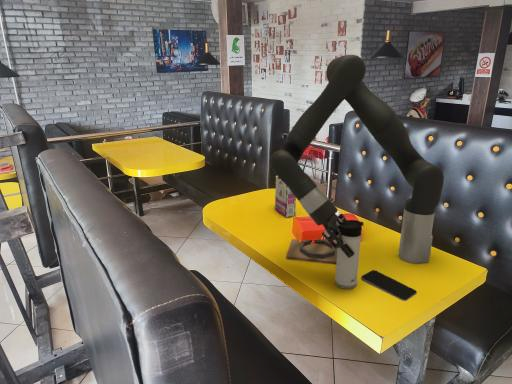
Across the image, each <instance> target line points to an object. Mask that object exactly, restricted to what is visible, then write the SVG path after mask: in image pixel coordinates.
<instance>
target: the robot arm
mask: <svg viewBox="0 0 512 384" xmlns="http://www.w3.org/2000/svg"><path fill="white" fill-rule="evenodd" d="M366 70H367V69H366V65H365V62H364V60H363V58H361V56H359V55H357V54H344V55H342V56H338V57H336V58H334V59H332V60H331V61H330V62H329V63H328V64H327V67H326V70H325V75H326V79H327V81H328V83H327V84H326V86H325V88H324V89H323V90H322V92H321V94H319V95H318V97H317V98H316V99H315V100H314V101H313V103H311V105H309V106H308V108H307V109H306V110H304V112H303V113H302V114H301V115H300V117H299V118H298V119H297V121H296V122H295V124H294V125H293V127H292V128H291V129H290V131H289V132H288V134H287V137H286V140H285V142H284V143H283V145H282V146H281V147H280V148H279V150H276V151H275V152H273V153H272V154H271V156H270V158H269V166H270V169H271V170H272V172H274V174H275V175H276V176H278V177H279V178H280V179H281V180H282V181H283V182H284V183H285V184H286V185H287V186H288V188H289V189H290V191H291V192H292V193H293V195H294V196H295V197H296V200H298V202H299V204H300V205H301V207H302V208H303V210H305V213H307V214H308V216H309V217H310V218H311V219H312V221H313V222H314V223H315V224H316V225H317V226H321V225H322V226H323V228H324V230H323V232H321V235H322V236H323V237H324V238H325V240H327V241H328V242H329V243H330V244H331V245H332V246H333V247H334V248H335V249H337V248H341V250H342V251H343V252H344V253H345V254H346V256H347V257H348V258H350V257H352V256H353V255H354V254H355V253H354V251H353V250H352V249H351V248H350V247H349V245H348V244H347V243H346V242H345V240H344V238H343V234H342V232H341V230H340V223H341V222H343V221H346V220H348V219H346V216H345V215H344V214H343V213H340V214H338V215H337V214H336V213H338V211H339V210H338V207H337V206H336V205H335V204H334V203H333V202H332V201H331V199H330V198H329V197H328V196H327V194H326V193H325V192H324V191H323V190H322V189H321V188H320V187H319V186H318V185H317V184H316V183H315V181H314V179H312V178H311V177H310V176H309V175H308V173H306V172H305V171H304V170H303V168H302V167H301V166H300V164H299V162H300V160H301V159H302V157H303V155H304V153H305V151H306V150H307V149H308V148H309V146H310V145H311V143H312V142H313V141H314V139H315V138H316V137H317V136H318V134H319V132H320V131H321V130H322V128H323V127H324V125H325V124H326V123H327V122H328V119H329V118H330V117H331V116H332V115H333V113H334V112H336V109H338V107H339V106H341V104H342V103H343V102H344V101H345V102H347V104H348V105H350V107H351V108H352V110H353V111H354V112H355V113H354V114H356V116H357V117H358V119H359V120H360V121H361V122H362V125H364V127H365V128H366V129H367V131H368V132H369V134H370V135H371V136H372V138H373V139H374V140H375V141H376V142H377V143H378V145H380V148H382V149H383V151H384V152H385V153H387V155H388V156H389V157H390V158H391V159H392V160H393V161H394V163H395V165H396V166H397V167H398V169H399V171H400V173H401V175H402V176H403V178H404V179H405V181H406V182H407V183H408V185H410V186H411V187H412V194H411V198H410V197H409V198H407V199H406V200H405V201H404V202H405V203H404V208H403V209H404V210H403V216H402V224H401V232H400V240H399V247H398V255H397V256H398V257H399V258H400V259H401V260H403V262H404V261H405V262H408V263H411V264H425V263H429V262H430V256H431V251H432V245H433V239H434V236H433V234H432V233H433V232H432V231H433V225H434V219H435V214H436V209H437V207H438V206H439V203H440V200H441V196H442V193H443V192H442V191H443V187H444V181H445V176H444V175H445V174H444V172H443V170H442V168H441V167H439V166H438V165H436V164H434V163H431V162H430V161H427V160H426V159H425V158H424V157H423V156H422V155H421V154H420V153H419V152H418V150H416V149H415V147H414V146H413V144H412V141H411V139H410V135H409V133H408V130H407V128H406V126H405V124H404V122H403V121H402V120H401V118H400V117H399V116H398V114H397V113H396V111H395V110H394V109H393V108H392V107H391V106H390V105H389V104H387V103H386V102H385V101H383V99H381V98H380V97H379V96H377V95H376V94H375V93H374V92H372V91H371V90H370V88H368V86H367V85H366V83H365V82H364V81H363V80H364V78H365V75H366ZM340 239H341V240H340ZM335 243H336V244H335Z"/></svg>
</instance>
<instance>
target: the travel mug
mask: <svg viewBox="0 0 512 384" xmlns="http://www.w3.org/2000/svg"><path fill="white" fill-rule="evenodd" d="M364 226H365V225H364V222H363V221H361V220H360V221H359V220H357V219H356V220H355V219H347V220H346V221H343V222H341V223H340V230H341V232H342V234H343V238H344V240H345V242H346V243H347V244H348V245H349V247H350V248H351V249H352V250H353V251H354V253H355V254H354V255H353V256H352V257H350V258H348V257H347V256H346V254H345V253H344V252H343V251H342V250H341V248H338V250H337V263H336V264H335V265H336V268H335V278H334V284H335V285H336V286H337V287H338V288H341V289H344V290H350V289H354V288H356V287H357V281H358V272H359V262H360V251H361V243H362V230H363V229H362V227H364ZM340 240H341V239H340Z"/></svg>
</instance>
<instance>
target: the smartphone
mask: <svg viewBox="0 0 512 384" xmlns="http://www.w3.org/2000/svg"><path fill="white" fill-rule="evenodd" d="M360 279H361V281H363V282H365V283H367V284H368V285H371V286H373V287H374V288H376V289H379V290H380V291H383V292H384V293H387V294H389V295H390V296H392V297H394V298H396V299H399V300H400V301H405V302H407V301H408V300H410V299H411V298H412V297H413V296H415V295H416V294H417V293H418V291H417V290H416V289H414V288H412V287H410V286H408V285H406V284H404V283H402V282H400V281H397V280H396V279H394V278H392V277H390V276H388V275H386V274H383V273H382V272H380V271H378V270H375V269H373V270H370V271H368V272H366V273H364V274H363V275H362V276H361V277H360Z"/></svg>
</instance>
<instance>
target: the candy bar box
mask: <svg viewBox="0 0 512 384" xmlns="http://www.w3.org/2000/svg"><path fill="white" fill-rule="evenodd" d="M274 197H275V200H274V201H275V202H274V211H276V212H277V211H278V212H277V213H279V214H280V215H281V214H282V215H281V216H283V218H286V219H288V218H293V217H294V218H295V217H296V203H297V201H296V200H297V198H296V197H295V196H294V195H293V193H292V192H291V191H290V189H289V188H288V186H287V185H286V184H285V183H284V182H283V181H282V180H281V179H280V178H279V177H278V176H277V175H276V176H275V196H274Z"/></svg>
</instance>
